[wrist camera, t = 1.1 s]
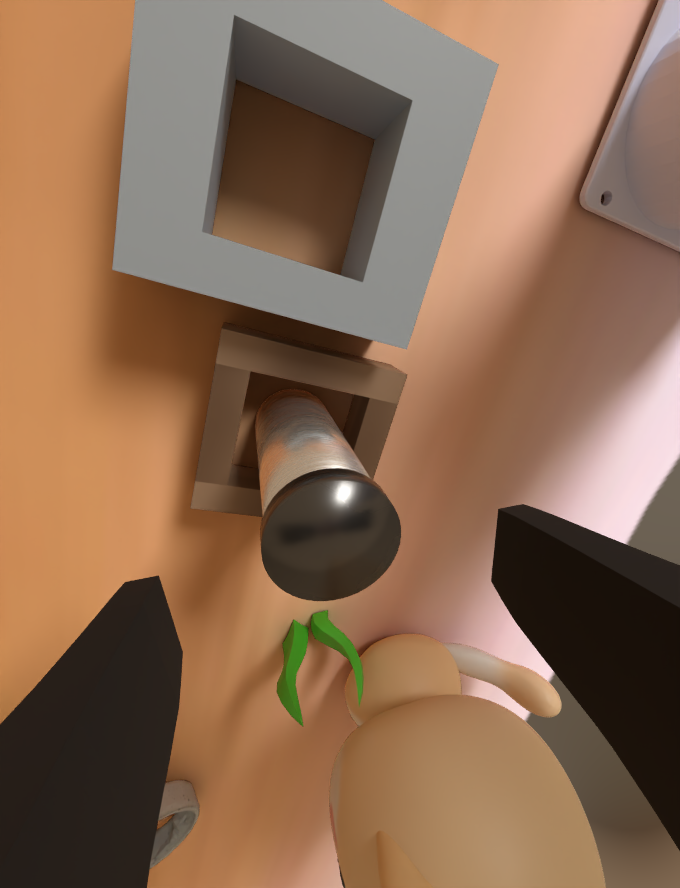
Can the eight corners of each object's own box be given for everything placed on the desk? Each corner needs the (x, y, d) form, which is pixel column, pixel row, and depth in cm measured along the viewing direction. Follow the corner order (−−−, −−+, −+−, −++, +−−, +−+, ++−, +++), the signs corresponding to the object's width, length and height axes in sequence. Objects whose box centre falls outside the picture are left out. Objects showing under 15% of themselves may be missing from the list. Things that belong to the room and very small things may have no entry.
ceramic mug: (-3, 853, 23) (-102, 1095, 17) (-4, 759, 21) (-121, 998, 14) (190, 828, 27) (174, 1021, 20) (210, 744, 24) (200, 932, 17)
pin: (339, 395, 18) (419, 492, 10) (320, 466, 19) (377, 604, 11) (261, 378, 16) (279, 470, 9) (245, 453, 18) (248, 596, 10)
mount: (390, 364, 17) (407, 374, 16) (346, 504, 20) (357, 528, 18) (224, 322, 15) (221, 328, 14) (195, 484, 18) (190, 508, 16)
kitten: (233, 692, 23) (220, 1303, 9) (325, 555, 21) (485, 1090, 7) (430, 733, 28) (602, 1151, 15) (519, 630, 26) (814, 1008, 13)
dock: (442, 111, 14) (498, 64, 11) (375, 335, 17) (406, 349, 14) (171, -20, 12) (146, -130, 8) (141, 271, 14) (112, 269, 11)
